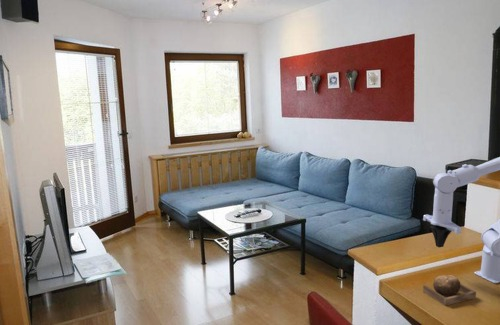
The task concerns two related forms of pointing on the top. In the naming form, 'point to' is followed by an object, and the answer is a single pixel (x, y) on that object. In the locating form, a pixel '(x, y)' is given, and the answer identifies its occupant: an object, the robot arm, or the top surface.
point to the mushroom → (446, 285)
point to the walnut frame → (466, 295)
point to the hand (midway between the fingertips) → (439, 246)
